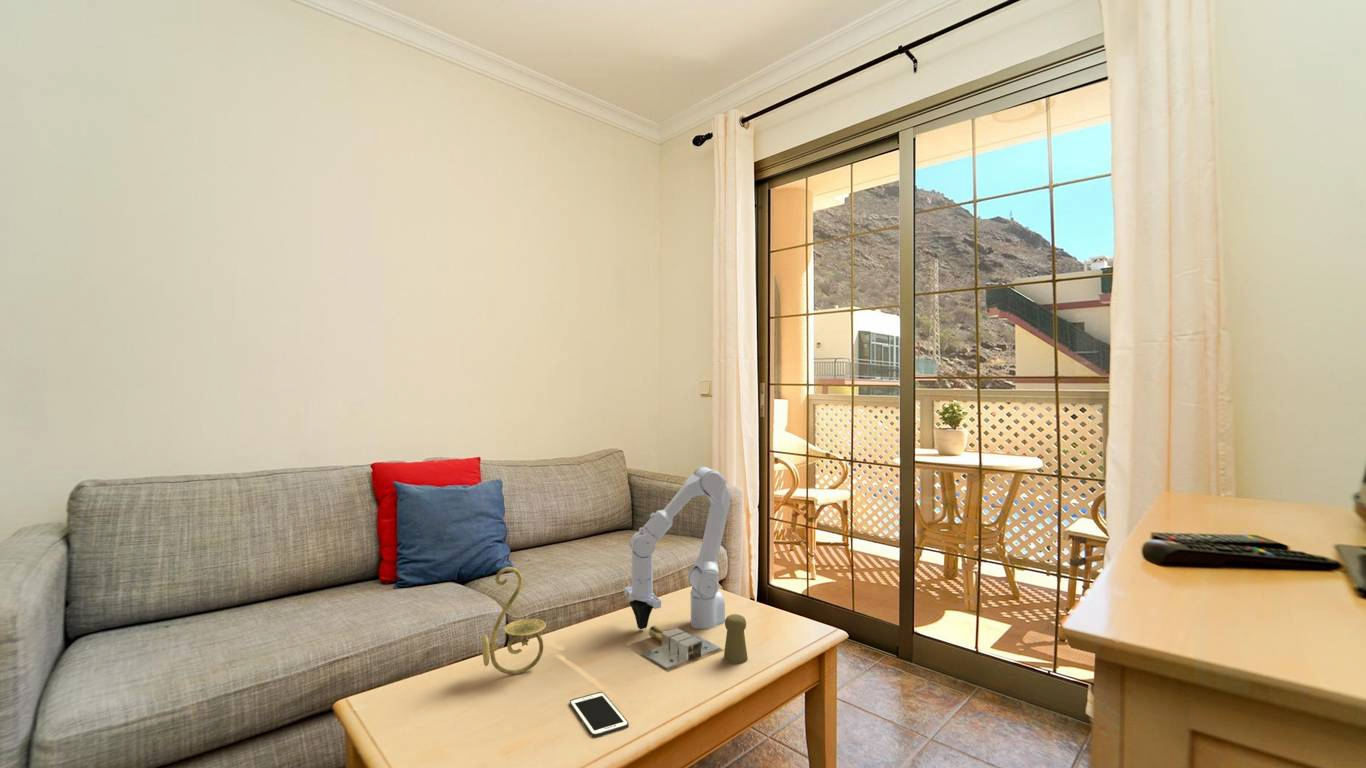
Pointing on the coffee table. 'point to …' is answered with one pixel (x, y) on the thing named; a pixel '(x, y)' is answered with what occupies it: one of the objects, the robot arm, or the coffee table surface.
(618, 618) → the coffee table surface
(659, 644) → the board
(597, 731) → the cell phone
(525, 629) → the wall sconce
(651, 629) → the pin
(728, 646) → the olive green pawn
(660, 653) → the hinge leaves
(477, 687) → the coffee table surface
